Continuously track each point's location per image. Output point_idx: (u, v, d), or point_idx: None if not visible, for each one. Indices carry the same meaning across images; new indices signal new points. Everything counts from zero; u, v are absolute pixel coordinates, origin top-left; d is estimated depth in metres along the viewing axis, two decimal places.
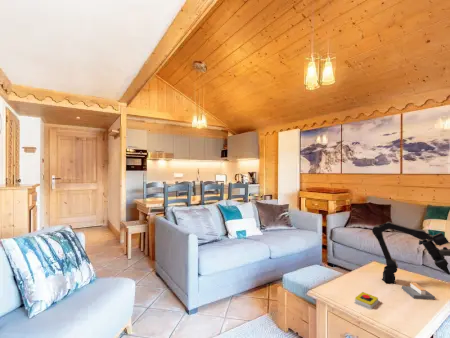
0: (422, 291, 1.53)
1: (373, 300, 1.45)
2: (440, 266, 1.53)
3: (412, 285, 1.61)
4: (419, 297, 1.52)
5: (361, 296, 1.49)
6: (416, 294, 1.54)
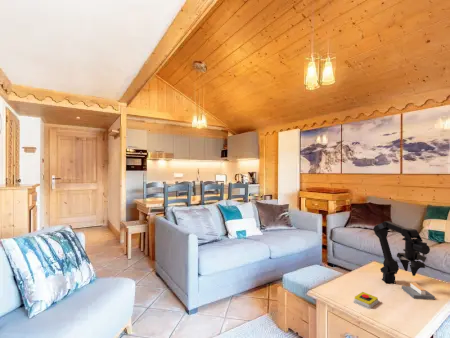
0: (422, 291, 1.53)
1: (372, 300, 1.45)
2: (415, 267, 1.51)
3: (412, 285, 1.61)
4: (419, 297, 1.52)
5: (361, 295, 1.50)
6: (416, 294, 1.54)
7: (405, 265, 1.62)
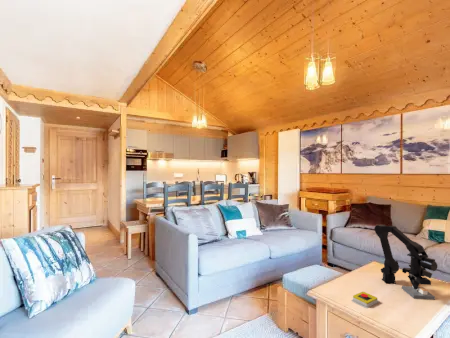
0: (424, 291, 1.53)
1: (371, 299, 1.45)
2: None
3: None
4: (419, 297, 1.52)
5: (360, 294, 1.51)
6: (416, 294, 1.54)
7: None
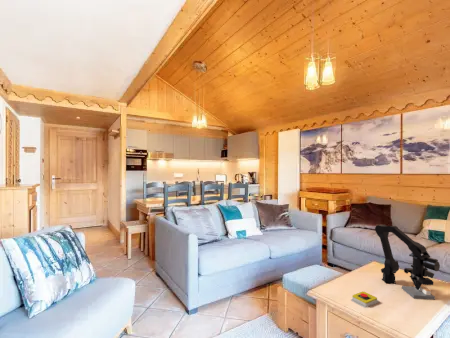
0: (427, 291, 1.53)
1: (370, 299, 1.45)
2: (419, 281, 1.55)
3: None
4: (419, 297, 1.52)
5: None
6: (416, 294, 1.54)
7: None
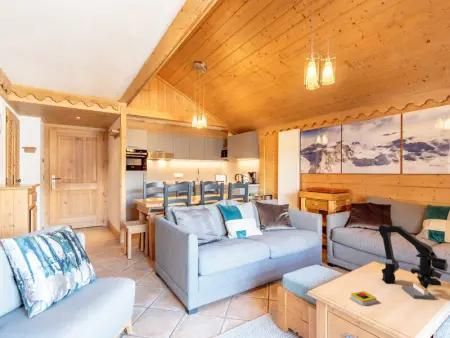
0: (425, 291, 1.53)
1: (368, 298, 1.46)
2: (426, 282, 1.54)
3: (415, 285, 1.61)
4: (419, 297, 1.52)
5: None
6: (416, 294, 1.54)
7: None
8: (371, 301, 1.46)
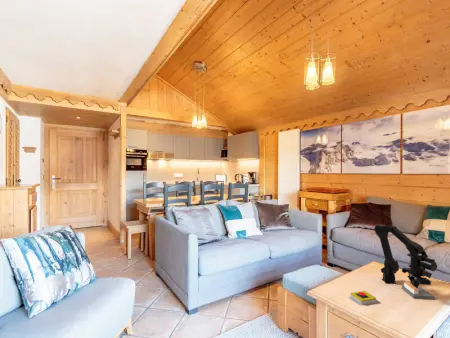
0: (415, 291, 1.53)
1: (368, 298, 1.46)
2: None
3: (405, 285, 1.62)
4: (419, 297, 1.52)
5: None
6: (416, 294, 1.54)
7: None
8: (370, 301, 1.46)
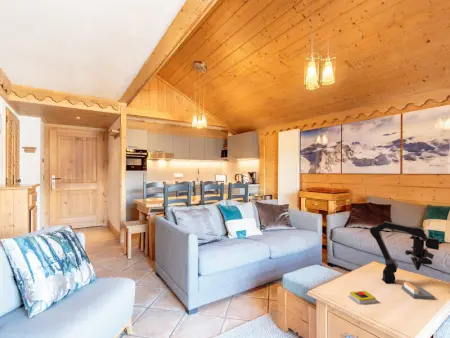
0: (415, 291, 1.53)
1: (367, 298, 1.47)
2: (418, 261, 1.61)
3: (405, 285, 1.62)
4: (419, 297, 1.52)
5: None
6: (416, 294, 1.54)
7: None
8: (369, 300, 1.46)
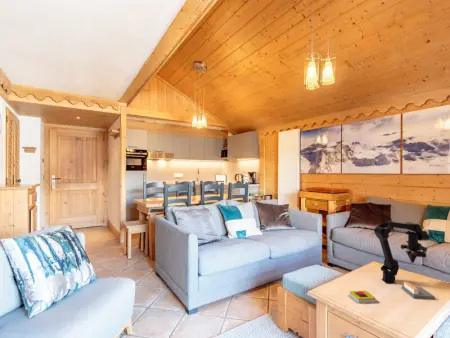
0: (415, 291, 1.53)
1: (366, 297, 1.47)
2: (413, 254, 1.74)
3: (405, 285, 1.62)
4: (419, 297, 1.52)
5: None
6: (416, 294, 1.54)
7: None
8: (369, 300, 1.47)
